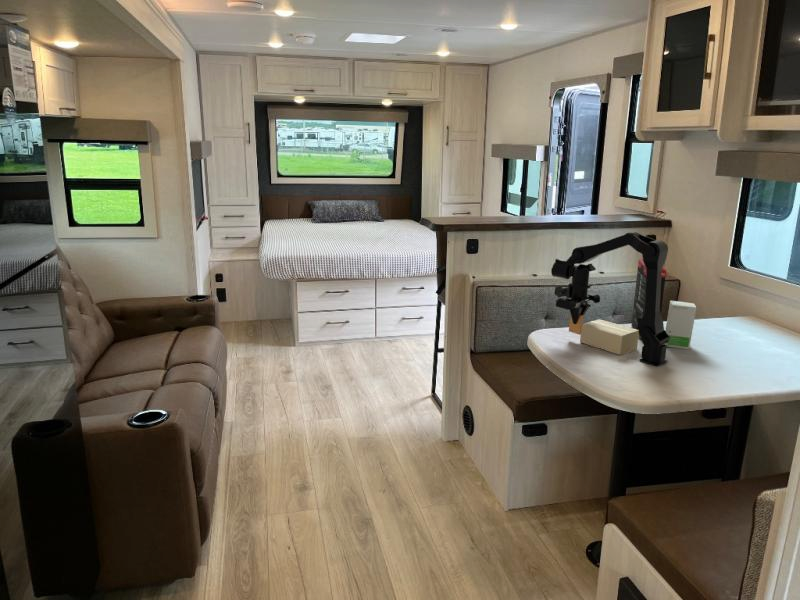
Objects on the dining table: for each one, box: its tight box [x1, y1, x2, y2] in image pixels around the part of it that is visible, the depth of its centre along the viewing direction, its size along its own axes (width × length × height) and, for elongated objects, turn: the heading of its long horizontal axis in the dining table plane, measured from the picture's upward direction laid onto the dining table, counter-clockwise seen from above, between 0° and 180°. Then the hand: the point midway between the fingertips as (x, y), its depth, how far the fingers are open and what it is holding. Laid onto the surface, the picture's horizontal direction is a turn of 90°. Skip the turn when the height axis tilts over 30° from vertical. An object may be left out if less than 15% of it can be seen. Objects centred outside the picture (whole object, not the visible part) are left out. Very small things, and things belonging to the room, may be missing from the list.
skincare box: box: [664, 300, 697, 350], centre depth 210 cm, size 8×7×16 cm
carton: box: [583, 319, 639, 356], centre depth 209 cm, size 16×10×7 cm, turn 38°
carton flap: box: [568, 313, 623, 355], centre depth 208 cm, size 21×1×10 cm, turn 38°
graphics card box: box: [631, 259, 667, 341], centre depth 221 cm, size 17×7×27 cm, turn 171°
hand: (575, 323), depth 214 cm, fingers closed, pressing on carton flap
